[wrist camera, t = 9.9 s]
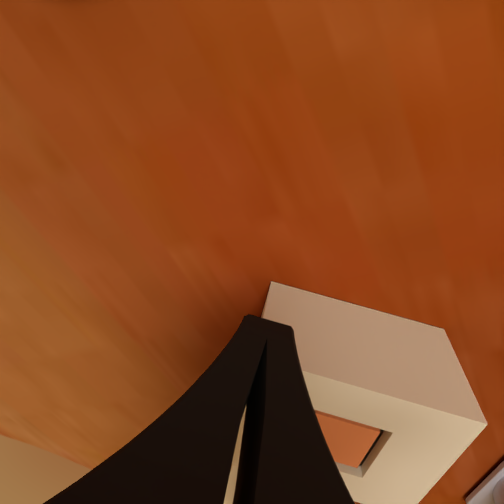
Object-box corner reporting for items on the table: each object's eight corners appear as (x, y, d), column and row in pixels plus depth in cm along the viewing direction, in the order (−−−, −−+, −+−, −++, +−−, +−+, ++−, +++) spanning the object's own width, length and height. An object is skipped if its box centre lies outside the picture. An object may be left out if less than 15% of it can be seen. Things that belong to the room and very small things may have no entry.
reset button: (374, 396, 18) (380, 432, 16) (353, 431, 19) (356, 468, 18) (316, 379, 18) (316, 413, 16) (300, 416, 19) (298, 450, 18)
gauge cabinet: (451, 331, 20) (497, 427, 14) (393, 418, 24) (413, 519, 18) (271, 281, 20) (253, 356, 15) (244, 375, 24) (222, 460, 19)
